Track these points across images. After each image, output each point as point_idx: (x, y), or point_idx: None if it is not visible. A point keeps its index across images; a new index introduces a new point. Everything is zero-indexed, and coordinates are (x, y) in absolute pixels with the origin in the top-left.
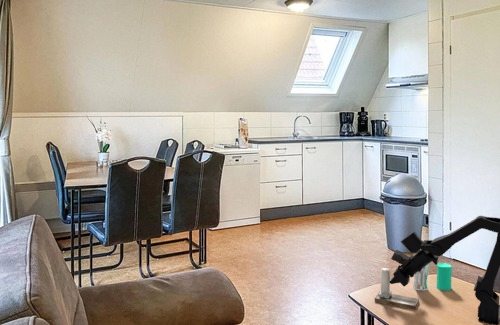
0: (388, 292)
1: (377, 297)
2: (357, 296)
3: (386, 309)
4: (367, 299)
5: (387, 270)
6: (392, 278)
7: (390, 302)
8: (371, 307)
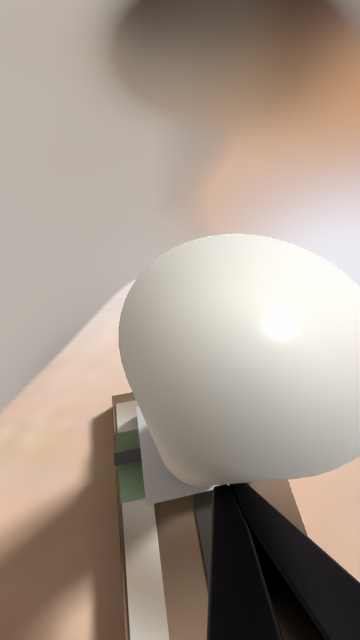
0: (186, 483)
1: (132, 407)
2: None
3: (20, 552)
4: None
5: (227, 412)
6: (208, 600)
7: (121, 542)
8: (14, 428)
